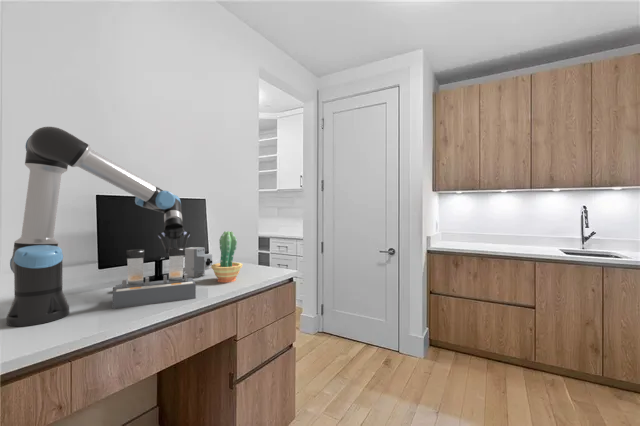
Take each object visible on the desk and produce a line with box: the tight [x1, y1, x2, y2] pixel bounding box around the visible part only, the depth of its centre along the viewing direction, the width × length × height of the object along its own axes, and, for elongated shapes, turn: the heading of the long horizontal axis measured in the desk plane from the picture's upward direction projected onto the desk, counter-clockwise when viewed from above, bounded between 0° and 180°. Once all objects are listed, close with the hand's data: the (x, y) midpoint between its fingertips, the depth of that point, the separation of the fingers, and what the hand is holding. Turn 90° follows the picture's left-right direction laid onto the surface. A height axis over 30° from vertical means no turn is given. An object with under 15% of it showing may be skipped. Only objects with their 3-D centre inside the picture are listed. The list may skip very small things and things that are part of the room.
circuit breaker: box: [183, 246, 214, 278], centre depth 165 cm, size 8×14×15 cm, turn 78°
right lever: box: [168, 247, 185, 282], centre depth 122 cm, size 6×3×15 cm, turn 119°
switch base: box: [112, 273, 197, 310], centre depth 122 cm, size 28×12×9 cm, turn 119°
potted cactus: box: [211, 230, 244, 283], centre depth 155 cm, size 15×16×25 cm
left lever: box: [125, 249, 145, 286], centre depth 115 cm, size 6×3×15 cm, turn 119°
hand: (176, 265), depth 124 cm, fingers closed
